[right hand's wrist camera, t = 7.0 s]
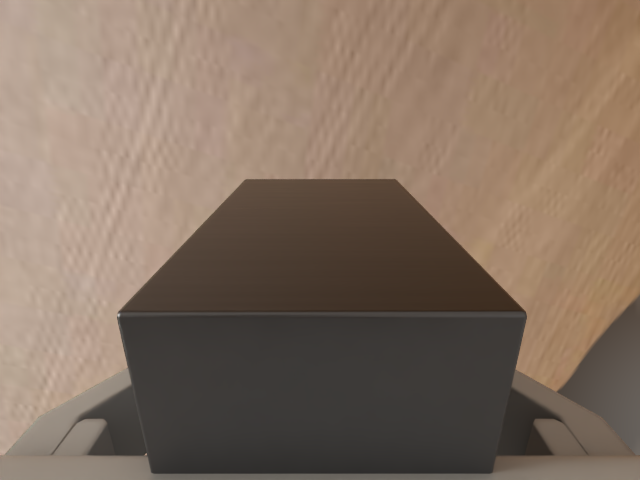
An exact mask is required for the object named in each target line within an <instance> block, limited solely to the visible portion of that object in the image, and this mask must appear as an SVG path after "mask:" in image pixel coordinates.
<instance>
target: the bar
mask: <svg viewBox="0 0 640 480" xmlns="http://www.w3.org/2000/svg"><path fill="white" fill-rule="evenodd" d="M117 319H118V324H119V329H120V333H121V338H122V342H123V347H124V351H125V356H126V361H127V365H128V370H129V374H130V379H131V383H132V388H133V393H134V397H135V402H136V406H137V411H138V415H139V420H140V425H141V429H142V434H143V438H144V443H145V447H146V452H147V457H148V461H149V466H150V470H151V473H153V474H490V473H493V468H494V464H495V459H496V454H497V450H498V445H499V441H500V436H501V432H502V427H503V423H504V418H505V414H506V409H507V405H508V400H509V396H510V391H511V387H512V382H513V377H514V373H515V368H516V364H517V359H518V355H519V350H520V346H521V341H522V337H523V332H524V328H525V323H526V319H527V315H526V312H525V310H524V309H523V308H522V307H521V306H520V305H519V304H518V303H517V302H516V301H515V300H514V299H513V298H512V297H511V296H510V295H509V294H508V293H507V292H506V291H505V290H504V289H503V288H502V287H501V286H500V285H499V284H498V283H497V282H496V281H495V280H494V279H493V278H492V277H491V276H490V275H489V274H488V273H487V272H486V271H485V270H484V269H483V268H482V267H481V266H480V265H479V264H478V263H477V262H476V261H475V260H474V259H473V257H472V256H471V255H470V254H469V253H468V252H467V251H466V250H465V249H464V248H463V247H462V246H461V245H460V244H459V243H458V242H457V241H456V240H455V239H454V238H453V237H452V236H451V235H450V234H449V233H448V232H447V231H446V230H445V229H444V228H443V227H442V226H441V225H440V224H439V223H438V222H437V221H436V220H435V219H434V218H433V217H432V216H431V215H430V214H429V213H428V212H427V211H426V210H425V209H424V208H423V207H422V206H421V204H420V203H419V202H418V201H417V200H416V199H415V198H414V197H413V196H412V195H411V194H410V193H409V192H408V191H407V190H406V189H405V188H404V187H403V186H402V185H401V184H400V183H399V182H398V181H397V180H395V179H246V180H244V181H243V183H242V184H241V185H240V186H239V187H238V188H237V189H236V190H235V191H234V192H233V193H232V194H231V195H230V196H229V197H228V198H227V199H226V200H225V201H224V202H223V203H222V204H221V205H220V206H219V208H218V209H217V210H216V211H215V212H214V213H213V214H212V215H211V216H210V217H209V218H208V219H207V220H206V221H205V222H204V223H203V224H202V225H201V226H200V227H199V228H198V229H197V230H196V231H195V233H194V234H193V235H192V236H191V237H190V238H189V239H188V240H187V241H186V242H185V243H184V244H183V245H182V246H181V247H180V248H179V249H178V250H177V251H176V252H175V253H174V254H173V255H172V257H171V258H170V259H169V260H168V261H167V262H166V263H165V264H164V265H163V266H162V267H161V268H160V269H159V270H158V271H157V272H156V273H155V274H154V275H153V276H152V277H151V278H150V279H149V280H148V282H147V283H146V284H145V285H144V286H143V287H142V288H141V289H140V290H139V291H138V292H137V293H136V294H135V295H134V296H133V297H132V298H131V299H130V300H129V301H128V302H127V303H126V304H125V305H124V307H123V308H122V309H121V310H120V311H119V312H118V315H117Z"/></svg>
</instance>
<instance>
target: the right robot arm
mask: <svg viewBox="0 0 640 480" xmlns="http://www.w3.org/2000/svg"><path fill="white" fill-rule="evenodd" d="M146 453H147V452H146V447H145V443H144V438H143V434H142V429H141V425H140V420H139V415H138V411H137V406H136V402H135V397H134V393H133V388H132V383H131V379H130V374H129V370H128V368H126V369H124V370H123V371H121V372H119V373H117V374H115V375H114V376H112V377H110V378H108V379H106V380H105V381H103V382H101V383H99V384H97V385H96V386H94V387H92V388H90V389H88V390H87V391H85V392H83V393H81V394H79V395H78V396H76V397H74V398H72V399H70V400H68V401H67V402H65V403H63V404H61V405H59V406H58V407H56V408H54V409H52V410H50V411H49V412H47V413H45V414H43V415H41V416H40V417H38V418H37V419H36V420H35V422H34V423H33V424H32V425H31V426H30V427H29V428H28V429H27V430H26V432H25V433H24V434H23V435H22V436H21V437H20V438H19V439H18V440H17V442H16V443H15V444H14V445H13V446H12V447H11V448H10V449H9V451H8V452H7V453H6V454H5V455H0V480H640V455H635V454H634V453H633V452H632V451H631V449H630V448H629V447H628V446H627V445H626V444H625V443H624V442H623V440H622V439H621V438H620V437H619V436H618V435H617V434H616V433H615V432H614V430H613V429H612V428H611V427H610V426H609V425H608V424H607V423H606V421H605V420H604V419H603V418H602V417H600V416H598V415H596V414H595V413H593V412H591V411H589V410H587V409H586V408H584V407H582V406H580V405H578V404H577V403H575V402H573V401H571V400H569V399H568V398H566V397H564V396H562V395H560V394H559V393H557V392H555V391H553V390H551V389H550V388H548V387H546V386H544V385H542V384H541V383H539V382H537V381H535V380H533V379H532V378H530V377H528V376H526V375H524V374H523V373H521V372H519V371H517V370H515V373H514V377H513V382H512V387H511V391H510V396H509V400H508V405H507V409H506V414H505V418H504V423H503V427H502V432H501V436H500V441H499V445H498V450H497V454H496V455H497V456H496V459H495V464H494V468H493V473H490V474H153V473H151V470H150V466H149V461H148V457H147V456H144V455H145V454H146Z"/></svg>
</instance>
